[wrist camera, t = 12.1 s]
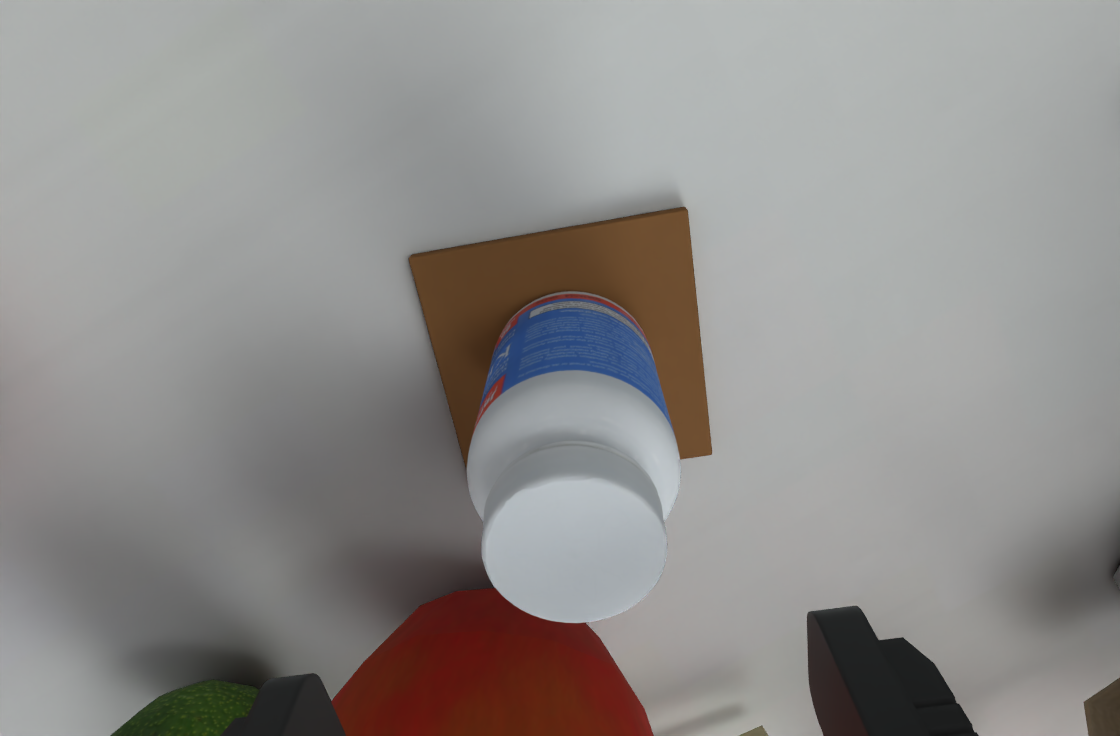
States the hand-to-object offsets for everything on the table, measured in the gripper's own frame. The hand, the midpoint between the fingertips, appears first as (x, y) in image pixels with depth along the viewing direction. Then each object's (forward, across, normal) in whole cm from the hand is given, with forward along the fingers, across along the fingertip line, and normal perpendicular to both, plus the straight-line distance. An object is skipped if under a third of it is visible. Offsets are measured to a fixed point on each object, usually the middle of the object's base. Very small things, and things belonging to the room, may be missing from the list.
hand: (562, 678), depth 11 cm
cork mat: (+14, 0, 0) cm, 14 cm away
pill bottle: (+13, 0, 0) cm, 13 cm away
